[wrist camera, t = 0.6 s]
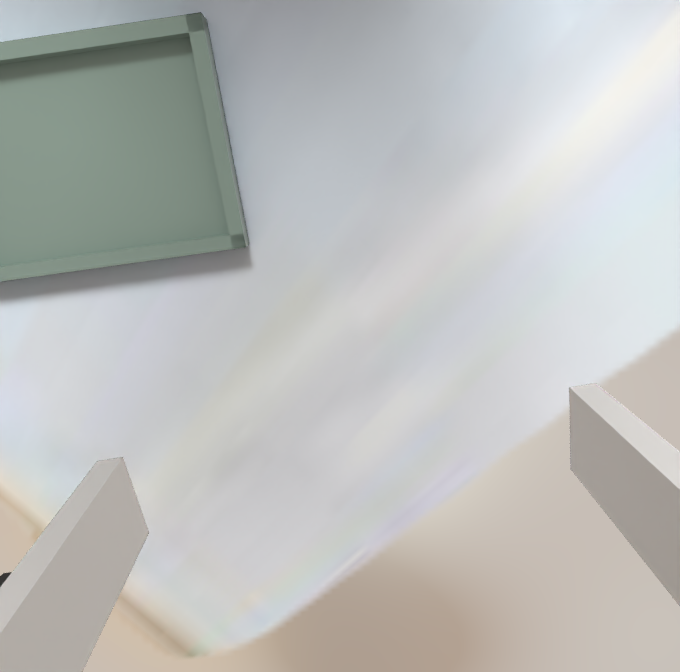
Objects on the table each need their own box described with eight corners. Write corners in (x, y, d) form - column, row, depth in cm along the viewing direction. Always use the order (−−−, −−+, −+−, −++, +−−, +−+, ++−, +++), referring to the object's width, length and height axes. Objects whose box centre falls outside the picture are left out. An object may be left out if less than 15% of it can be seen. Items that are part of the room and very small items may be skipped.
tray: (-9, 280, 39) (-23, 284, 37) (-87, 62, 34) (-107, 58, 33) (249, 244, 39) (246, 247, 37) (206, 19, 34) (200, 12, 32)
